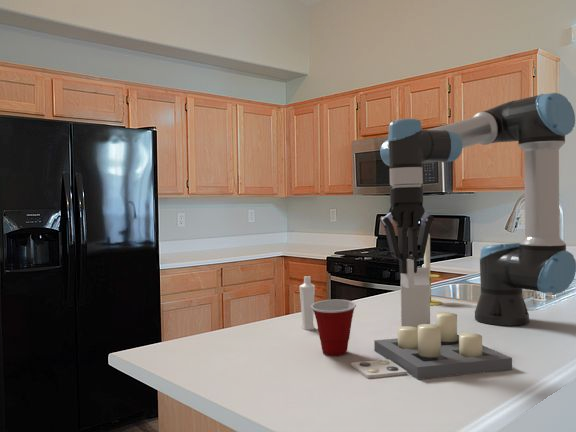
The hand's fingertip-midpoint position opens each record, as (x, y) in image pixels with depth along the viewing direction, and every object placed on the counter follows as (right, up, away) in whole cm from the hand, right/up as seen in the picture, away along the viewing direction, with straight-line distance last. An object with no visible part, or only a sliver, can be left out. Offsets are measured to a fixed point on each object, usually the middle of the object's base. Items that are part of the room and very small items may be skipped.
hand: (408, 287), depth 123 cm
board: (+6, -16, -4) cm, 17 cm away
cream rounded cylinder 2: (+12, -16, -7) cm, 21 cm away
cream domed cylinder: (+2, -13, -10) cm, 16 cm away
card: (-9, -16, -10) cm, 21 cm away
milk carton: (+5, -16, +14) cm, 22 cm away
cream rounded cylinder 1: (+10, -13, +2) cm, 16 cm away
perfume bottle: (-22, -16, +29) cm, 40 cm away
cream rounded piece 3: (0, -16, 0) cm, 16 cm away
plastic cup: (-17, -17, +3) cm, 24 cm away
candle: (+22, -15, +64) cm, 69 cm away
